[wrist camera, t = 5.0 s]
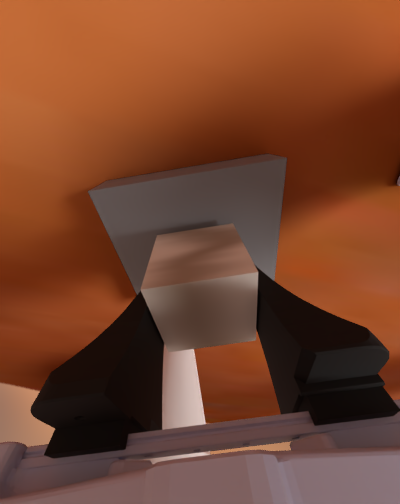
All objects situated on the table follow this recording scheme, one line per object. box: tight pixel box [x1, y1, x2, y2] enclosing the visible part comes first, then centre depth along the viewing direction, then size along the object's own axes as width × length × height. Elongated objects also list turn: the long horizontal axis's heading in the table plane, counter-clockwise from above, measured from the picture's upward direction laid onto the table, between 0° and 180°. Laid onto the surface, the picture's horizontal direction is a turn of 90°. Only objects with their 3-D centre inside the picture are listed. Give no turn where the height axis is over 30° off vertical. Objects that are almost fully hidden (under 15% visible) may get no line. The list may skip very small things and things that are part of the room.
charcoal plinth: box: [88, 154, 287, 295], centre depth 15 cm, size 12×12×3 cm
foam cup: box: [144, 343, 210, 464], centre depth 21 cm, size 10×9×13 cm
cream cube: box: [141, 223, 258, 352], centre depth 11 cm, size 5×5×5 cm
